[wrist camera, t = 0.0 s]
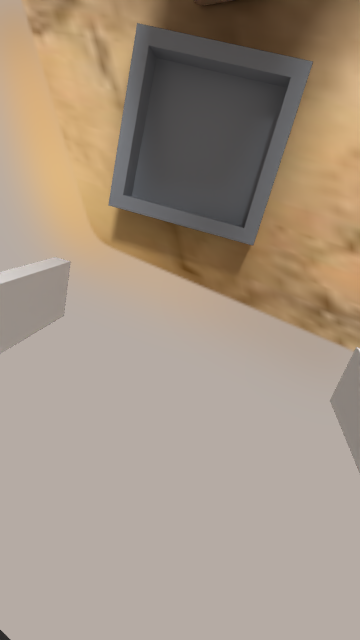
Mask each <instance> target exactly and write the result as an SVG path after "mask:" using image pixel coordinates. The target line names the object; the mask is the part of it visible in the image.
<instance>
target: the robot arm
mask: <svg viewBox="0 0 360 640" xmlns="http://www.w3.org/2000/svg"><path fill="white" fill-rule="evenodd" d="M69 269H70V261H66V260H64V259H60V258H57V257H54V258H50V259H46V260H42V261H39V262H35V263H31V264H27V265H24V266H20V267H16V268H13V269H9V270H5V271H2V272H0V353H2V352H4V351H5V350H7V349H9V348H10V347H12V346H14V345H16V344H17V343H19V342H21V341H22V340H24V339H26V338H27V337H29V336H30V335H32V334H34V333H36V332H37V331H39V330H41V329H42V328H44V327H46V326H47V325H49V324H51V323H52V322H54V321H56V320H57V319H59V318H61V317H62V316H64V310H65V302H66V294H67V286H68V278H69ZM330 402H331V404H332V407H333V409H334V412H335V414H336V416H337V419H338V421H339V424H340V426H341V429H342V431H343V434H344V436H345V438H346V441H347V443H348V446H349V448H350V451H351V453H352V455H353V458H354V460H355V463H356V465H357V468H358V470H359V473H360V348H357V347H356V349H355V351H354V353H353V355H352V357H351V359H350V361H349V363H348V365H347V367H346V369H345V371H344V373H343V375H342V377H341V379H340V381H339V383H338V385H337V387H336V389H335V391H334V393H333V395H332V397H331V399H330ZM0 640H10V639H9V638H8V637H7V636H6V635H5V634H4V633H3V632H2V631H1V630H0Z"/></svg>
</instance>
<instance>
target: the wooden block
mask: <svg viewBox="0 0 360 640" xmlns="http://www.w3.org/2000/svg"><path fill="white" fill-rule="evenodd" d="M194 1H195V3H196V4H199V5H209V4H215V3H221V2H227V1H233V0H194Z"/></svg>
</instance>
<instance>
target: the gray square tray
mask: <svg viewBox="0 0 360 640" xmlns="http://www.w3.org/2000/svg"><path fill="white" fill-rule="evenodd" d="M312 64H313V61H308V60H303V59H299V58H294V57H290V56H285V55H281V54H276V53H271V52H267V51H262V50H258V49H253V48H249V47H244V46H239V45H235V44H230V43H226V42H221V41H217V40H212V39H207V38H203V37H198V36H194V35H189V34H185V33H180V32H175V31H171V30H166V29H162V28H157V27H153V26H148V25H143V24H139V23H137V28H136V34H135V41H134V47H133V53H132V60H131V66H130V72H129V79H128V85H127V91H126V98H125V104H124V110H123V117H122V123H121V129H120V136H119V142H118V148H117V155H116V161H115V167H114V174H113V180H112V186H111V193H110V199H109V206H113V207H116V208H120V209H124V210H127V211H131V212H134V213H138V214H142V215H145V216H149V217H152V218H156V219H160V220H163V221H167V222H170V223H174V224H177V225H181V226H185V227H188V228H192V229H195V230H199V231H203V232H206V233H210V234H213V235H217V236H221V237H224V238H228V239H231V240H235V241H238V242H242V243H246V244H249V245H254V242H255V238H256V235H257V232H258V229H259V226H260V223H261V220H262V217H263V214H264V211H265V208H266V205H267V202H268V199H269V196H270V192H271V189H272V186H273V183H274V180H275V177H276V174H277V171H278V168H279V165H280V162H281V159H282V156H283V153H284V149H285V146H286V143H287V140H288V137H289V134H290V131H291V128H292V125H293V122H294V119H295V116H296V113H297V110H298V107H299V103H300V100H301V97H302V94H303V91H304V88H305V85H306V82H307V79H308V76H309V73H310V70H311V67H312Z"/></svg>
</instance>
